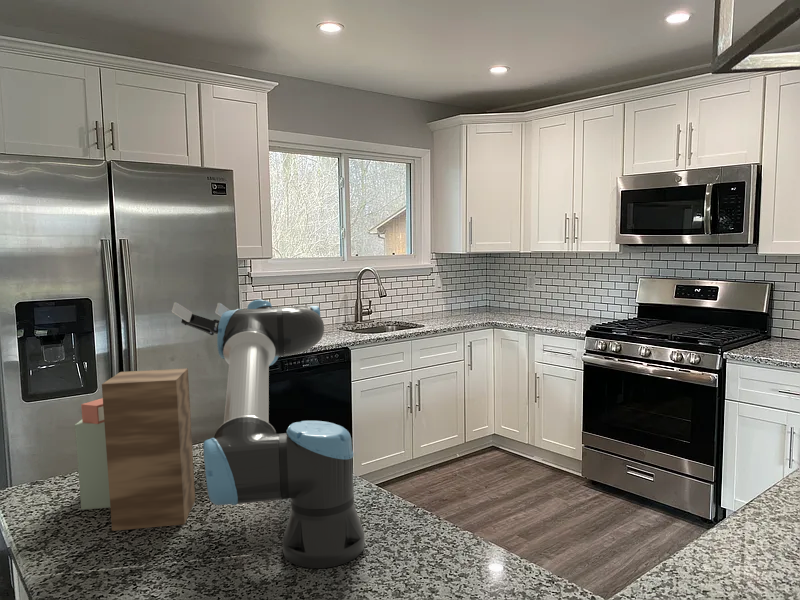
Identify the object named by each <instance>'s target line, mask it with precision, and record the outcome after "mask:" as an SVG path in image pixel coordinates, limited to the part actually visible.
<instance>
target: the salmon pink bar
mask: <svg viewBox="0 0 800 600" xmlns="http://www.w3.org/2000/svg"><path fill="white" fill-rule="evenodd" d="M80 405H81V418H82V419H81V420H82V421H83V422H84V423H93V424H100V423H102V422H104V410H103V397H102V398H99V399H94V400H91V401H88V402H84V403H81V404H80Z"/></svg>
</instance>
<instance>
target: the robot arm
mask: <svg viewBox="0 0 800 600" xmlns="http://www.w3.org/2000/svg"><path fill="white" fill-rule="evenodd" d="M216 305H217V306H216V307H215V312H214V313H215V314H216V315H217V316H219V317H220V319H219V320H218V319H209V318H206V317H204V316H203V317H202V316H199V315H197V314H193V312H192V311H191V310H189V309H188V308H186V307H185V306H183V305H182V304H180V303H178V302H176V301H175V302H173V306H172V308H171V313H172V314H174V315H175V316H177V317H179V318H180V319H181V321H180V322H181V324H182V325H184V326H189V327H191V328H193V329H196V330H200V331H201V332H204V333H206V334H208V335H210V336H214V335H215V334H216V335H217V337H216V340H217V341H216V342H217V343H216V344H217V352H218V355H219V357H220V359H223V360H225V362H226V363H227V365H228V370H227V371H228V373H227V384H226V385H227V386H226V393H225V394H226V395H225V404H224V405H225V406H224V407H225V408H224V414H223V415H224V417H223V423H222V424H221V425H220V426H219V427H218V428H217V429H216V431H215V432H214V437H211V438H209V439H205V440H204V441H203V445H202V447H203V460H204V461H203V462H204V470H205V471H204V472H205V481H206V488H207V494H208V498H209V501H210V503H212V504H213V505H215V506H227V505H230V506H237V505H243V504H251V503H261V502H269V501H278V500H279V501H280V500H287V499H289V500H290V513H289V516H288V521H287V524H286V527H285V531H284V535H283V538H282V552H283V556H284V558H285V559H286V560H287V561H288V562H289V563H291V564H293V565H295V566H299V567H303V568H307V569H308V568H309V569H326V568H333V567H338V566H341V565H343V564H346V563H349V562H350V561H353V560H354V559H357V558H358V556H360V555H361V553H362V552H364V549H365V541H366V540H365V531H364V528H363V525H362V522H361V519H360V517H359V514H358V512H357V509H356V506H355V497H354V490H355V489H354V471H353V470H354V468H353V458H354V451H353V446H352V445H353V443H352V442H353V441H352V437H351V433H350V432H349V430H348V429H346V428H345V427H344V426H342V425H340V424H336V423H334V422H329V421H322V420H301V421H296V422H292V423H291V424H289V426H288V427H287V429H286V432H284V433H277V431H276V429H275V427H274V426H273V425H272V424H271V423H270V421H269V415H270V413H269V411H270V409H269V408H270V406H269V405H270V401H269V400H270V398H269V397H270V395H269V390H270V389H269V388H270V386H269V385H270V383H269V382H270V381H269V380H270V379H269V378H270V377H269V376H270V372H269V371H270V368H269V367H270V366H273V365H274V364H275V363H276V362H277V361H278V359H279V357H283V356H284V357H287V356H292V355H297V354H301V353H304V352H305V351H308V350H310V349H312V348H314V347H315V346H316V345H317V344H319V342H320V341H321V339H322V338H323V336H324V332H325V323H324V321H323V319H322V317H321V310H320V309H321V308H320V307H319V306H318V305H300V306H299V305H298V306H296V305H295V306H275V307H274V306H273V305H272V303H271V302H270V301H268V300H263V299H255V300H252V301H250V302H249V303H248V304H247V307H246V308H236V309H232V310H231V309H230V308H228V307H227V306H225V305H224V304H223V303H221V302H217V304H216Z"/></svg>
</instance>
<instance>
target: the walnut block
mask: <svg viewBox="0 0 800 600" xmlns="http://www.w3.org/2000/svg"><path fill="white" fill-rule="evenodd" d="M101 392H102V395H101V396H102V398H103V410H104V424H105V438H106V452H107V466H108V480H109V495H110V507H109V508H110V520H111V522H110V523H111V532H112V531H125V530H136V529H149V528H157V527H168V526H179V525H186V522H187V520H188V517H189V515H190V514H191V511H192V508H193V507H194V505H195V502H196V490H195V471H194V470H195V469H194V454H193V452H194V451H193V450H194V449H193V439H192V438H193V437H192V436H193V434H192V417H191V401H190V385H189V369H188V368H171V369H170V368H169V369H151V370H150V369H149V370H135V371H134V370H133V371H130V370H129V371H120V372H118V373H117V374H115V375H114V376H112V377H111V378H109V379H108V380H106V381H104V382H103V383H102V384H101Z"/></svg>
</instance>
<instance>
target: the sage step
mask: <svg viewBox="0 0 800 600" xmlns="http://www.w3.org/2000/svg"><path fill="white" fill-rule="evenodd" d="M74 430H75V431H74V432H75V444H76V455H77V456H76V458H77V472H78V483H79V484H78V485H79V499H80V510H82V511H83V510H93V509H94V510H95V509H105V508H106V509H107V508H110V495H109V480H108V466H107V452H106V438H105V424H104V422H102V423H100V424H93V423H84V422H83V421H82V419H80V420H79V421H78V422H76V423H75V424H74Z"/></svg>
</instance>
